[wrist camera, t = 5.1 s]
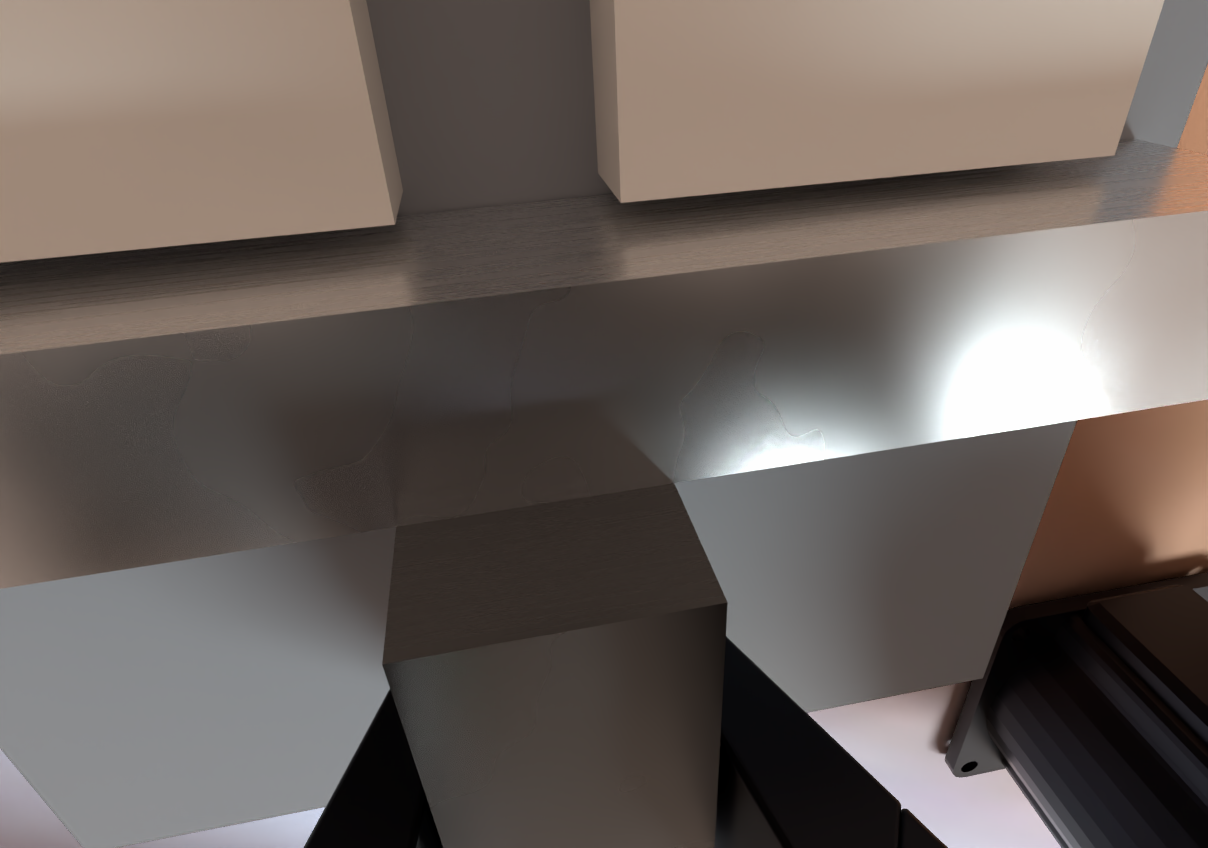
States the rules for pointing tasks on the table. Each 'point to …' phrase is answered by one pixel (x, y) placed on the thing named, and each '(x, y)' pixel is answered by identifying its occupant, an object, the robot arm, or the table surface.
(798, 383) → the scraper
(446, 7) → the board
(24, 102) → the tile
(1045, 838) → the table surface
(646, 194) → the tile
